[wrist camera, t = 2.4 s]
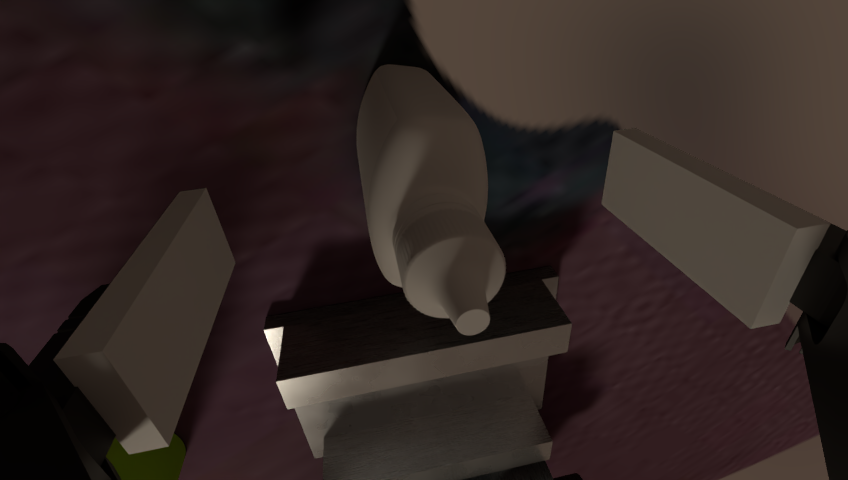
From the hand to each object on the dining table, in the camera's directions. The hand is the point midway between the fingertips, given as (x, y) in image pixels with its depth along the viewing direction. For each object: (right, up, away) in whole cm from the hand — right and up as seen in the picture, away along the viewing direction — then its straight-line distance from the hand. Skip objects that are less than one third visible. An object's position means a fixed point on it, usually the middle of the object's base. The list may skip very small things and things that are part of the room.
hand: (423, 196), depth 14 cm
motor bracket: (+1, -13, +15) cm, 20 cm away
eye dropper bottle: (-1, +3, +5) cm, 6 cm away
